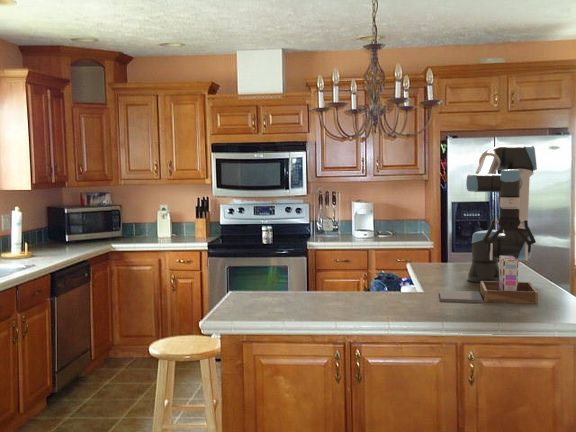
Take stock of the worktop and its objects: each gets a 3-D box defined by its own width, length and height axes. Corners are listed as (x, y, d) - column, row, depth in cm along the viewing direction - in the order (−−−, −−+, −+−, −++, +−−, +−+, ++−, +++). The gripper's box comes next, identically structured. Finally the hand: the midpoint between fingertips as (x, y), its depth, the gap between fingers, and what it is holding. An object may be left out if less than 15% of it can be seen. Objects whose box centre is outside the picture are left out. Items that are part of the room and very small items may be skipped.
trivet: (439, 293, 275) (439, 290, 275) (479, 294, 271) (479, 291, 271) (440, 301, 259) (440, 298, 259) (482, 302, 256) (482, 299, 256)
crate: (480, 291, 277) (480, 281, 277) (529, 293, 273) (529, 282, 273) (484, 301, 258) (484, 290, 257) (537, 303, 253) (538, 292, 253)
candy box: (517, 301, 258) (518, 260, 256) (502, 300, 259) (503, 260, 258) (513, 294, 271) (513, 255, 270) (498, 293, 273) (499, 254, 271)
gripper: (478, 208, 261) (477, 260, 262) (544, 208, 256) (542, 262, 257) (476, 207, 268) (475, 258, 270) (540, 207, 263) (539, 259, 265)
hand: (508, 260), depth 264 cm, fingers open, 13 cm apart
